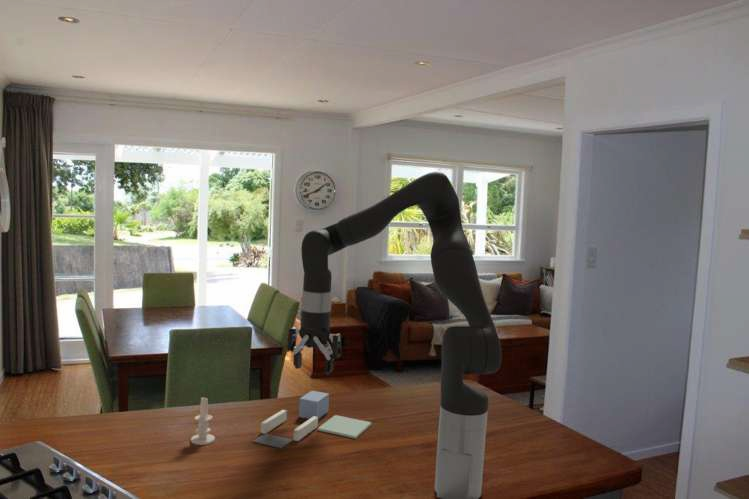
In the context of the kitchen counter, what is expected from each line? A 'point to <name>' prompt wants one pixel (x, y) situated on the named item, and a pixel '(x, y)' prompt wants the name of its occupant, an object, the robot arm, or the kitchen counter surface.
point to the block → (313, 404)
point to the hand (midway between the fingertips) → (312, 370)
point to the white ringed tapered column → (203, 425)
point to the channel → (280, 441)
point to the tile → (344, 426)
